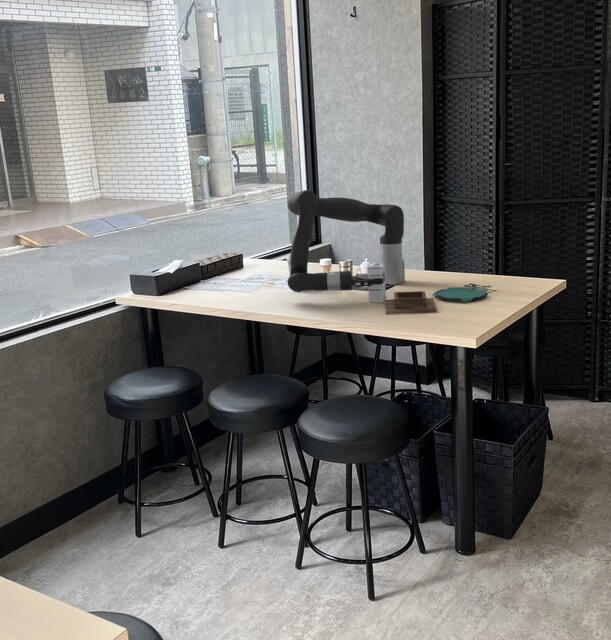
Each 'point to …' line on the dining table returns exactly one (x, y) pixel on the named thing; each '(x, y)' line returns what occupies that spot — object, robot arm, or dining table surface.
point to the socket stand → (410, 303)
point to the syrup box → (377, 291)
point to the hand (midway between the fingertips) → (382, 279)
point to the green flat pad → (462, 293)
